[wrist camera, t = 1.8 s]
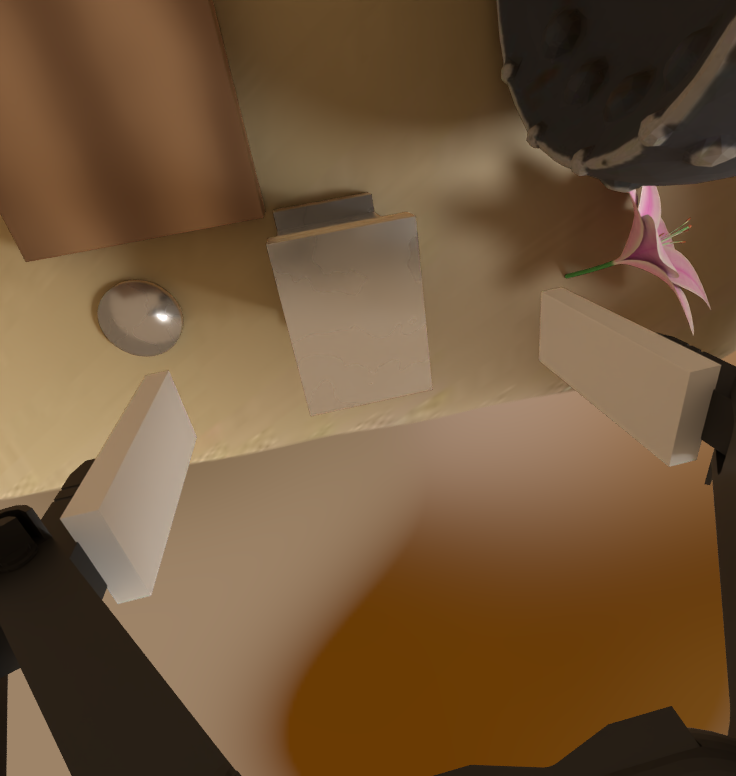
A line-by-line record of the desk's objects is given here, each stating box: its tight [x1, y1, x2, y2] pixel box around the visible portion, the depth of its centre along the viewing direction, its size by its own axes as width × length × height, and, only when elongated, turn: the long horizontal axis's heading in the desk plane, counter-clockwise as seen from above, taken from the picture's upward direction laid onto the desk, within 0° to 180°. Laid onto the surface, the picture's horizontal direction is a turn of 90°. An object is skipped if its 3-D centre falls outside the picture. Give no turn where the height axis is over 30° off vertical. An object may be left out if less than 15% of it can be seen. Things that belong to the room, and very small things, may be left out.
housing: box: [266, 192, 433, 416], centre depth 25 cm, size 6×8×12 cm
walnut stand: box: [0, 0, 266, 262], centre depth 23 cm, size 13×13×3 cm
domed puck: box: [98, 280, 183, 356], centre depth 29 cm, size 5×5×1 cm
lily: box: [565, 186, 711, 335], centre depth 29 cm, size 12×12×10 cm
